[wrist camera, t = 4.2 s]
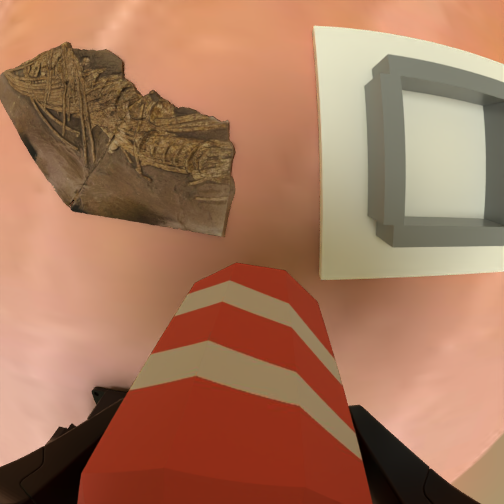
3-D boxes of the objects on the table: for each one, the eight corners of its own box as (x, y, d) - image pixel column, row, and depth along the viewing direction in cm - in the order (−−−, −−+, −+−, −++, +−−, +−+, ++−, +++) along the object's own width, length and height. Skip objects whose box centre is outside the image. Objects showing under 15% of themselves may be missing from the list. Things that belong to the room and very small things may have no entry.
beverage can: (187, 249, 14) (-15, 484, 2) (334, 272, 13) (461, 551, 2) (179, 364, 15) (89, 582, 4) (304, 384, 15) (325, 617, 4)
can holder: (504, 267, 19) (534, 283, 16) (318, 274, 21) (328, 299, 17) (505, 69, 15) (535, 60, 11) (312, 31, 16) (320, 4, 13)
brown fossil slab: (281, 159, 19) (281, 159, 18) (184, 292, 22) (180, 298, 21) (34, 16, 16) (27, 13, 15) (-20, 122, 19) (-28, 121, 18)
